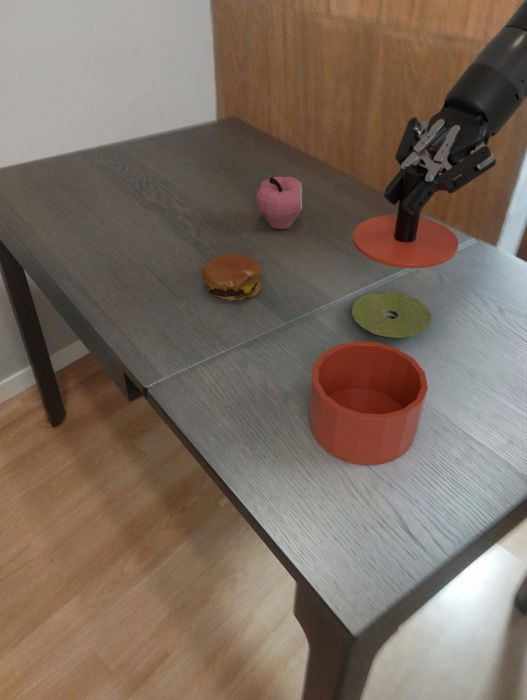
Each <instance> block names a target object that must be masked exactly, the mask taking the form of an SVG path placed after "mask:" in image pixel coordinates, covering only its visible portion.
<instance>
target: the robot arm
mask: <svg viewBox="0 0 527 700" xmlns="http://www.w3.org/2000/svg"><path fill="white" fill-rule="evenodd" d="M526 99H527V0H523V1H522V2H521V3H520V5H519V6H518V7H517V8H516V10H515V12H513V14H512V15H511V17H509V18H508V20H507V22H506V23H505V24H504V25H503V26H502V28H501V29H500V30H499V31H498V32H497V33H496V35H495V36H494V37H493V38H492V39H491V40H490V41H488V43H487V44H486V45H485V46H483V48H482V49H481V51H480V52H479V53H478V54H477V56H476V57H475V58H474V59H473V61H472V62H471V63H470V64H469V66H468V67H467V68H466V69H465V71H464V72H463V73H462V75H461V76H460V77H459V78H458V80H457V81H456V82H455V83H454V85H453V86H452V87H451V88H450V90H449V91H448V92H447V93H446V95H445V97H444V102H443V106H442V107H441V109H440V110H439V111H437V113H435V114H434V115H432V116H431V117H430V118H429V119H428V120H422V121H419V120H418V118H417V117H415V116H414V117H411V118H410V119H409V120H408V122H407V125H406V126H405V130H404V132H403V135H402V136H401V137H402V138H401V141H400V143H399V145H398V148H397V151H396V153H395V158H394V159H395V160H396V162H397V163H398V164H399V167H400V169H399V171H398V172H397V173H396V175H395V176H394V177H393V179H392V180H391V181H390V182H389V184H387V186H386V188H385V190H384V193H383V197H384V198H385V199H386V200H387V201H388V203H390V204H392V205H396V204H397V203H399V200H400V193H401V187H402V180H403V174H404V169H405V167H407V166H411V165H418V166H423V167H425V168H427V169H428V168H429V169H428V173H427V175H426V176H425V181H423V180H421V181H420V182H419V183H418V184H417V186H416V187H415V188H414V189H413V191H412V192H411V193H410V194H409V195H408V197H407V198H406V199H405V200H404V202H403V203H402V208H403V209H404V210H405V211H406V212H407V213H408V214H410V215H414V214H415V213H416V212H419V211H420V210H421V211H422V209H423V208H424V206H426V204H427V203H428V202H429V201H430V199H431V198H433V196H434V195H435V193H439V192H441V191H445V192H447V193H448V194H453V193H455V192H457V191H459V190H460V189H461V188H463V187H465V186H466V185H467V184H469V183H470V182H472V181H474V180H476V179H477V178H478V177H480V176H482V174H484V173H486V172H487V171H489V170H491V169H492V168H494V166H496V164H497V159H496V158H495V155H494V153H493V152H492V150H491V149H490V148H489V146H488V144H489V141H490V139H491V138H493V137H495V136H497V135H498V133H499V132H500V131H501V130H502V129H503V128H504V127H505V125H506V124H507V123H508V121H509V120H510V119H511V118H512V117H513V115H514V114H515V113H516V112H517V111H518V110H519V108H520V107H521V106H522V105H523V104H524V103H525V101H526ZM427 153H428V154H429V155H428V154H427ZM418 161H419V162H418Z"/></svg>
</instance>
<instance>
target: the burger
mask: <svg viewBox="0 0 527 700" xmlns="http://www.w3.org/2000/svg"><path fill="white" fill-rule="evenodd" d="M201 270H202V271H201V278H202V280H203V284H204V283H205V286H206V289H207V291H208V292H209V294H211V295H213V296H215V297H217V298H219V299H223V300H227V301H231V302H233V301H243V300H244V299H245V298H247V297H248V298H255V297H257V296H258V295H259V294H260V292H261V290H262V289H263V288H262V286H263V282H262V268H261V265H260V264H259V263H258V262H257V260H255V259H254V258H252V257H250V256H248V255H246V254H241V253H226V254H222V255H218V256H214V257H213V258H211V259H210V260H208V261H207V262H206V263H205V264H204V265H203V268H202V269H201Z"/></svg>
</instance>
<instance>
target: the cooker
mask: <svg viewBox="0 0 527 700" xmlns="http://www.w3.org/2000/svg"><path fill="white" fill-rule="evenodd" d="M310 386H311V387H310V388H311V389H310V401H309V402H310V404H309V405H310V406H309V428H310V432H311V433H312V436H313V437H314V439H315V441H316V442H317V443H318V444H319V446H320V447H321V448H322V449H323V450H325V451H326V452H327V453H329V454H330V455H331V456H332V457H335V458H338V459H340V460H341V461H344V462H347V463H351V464H355V465H362V466H375V465H382V464H383V465H384V464H387V463H391V462H393V461H395V460H397V459H399V458H400V457H402V456H404V455H405V454H406V453H407V451H409V449H410V448H411V447H412V445H413V444H414V441H415V439H416V435H417V432H418V431H419V430H418V429H419V426H420V422H421V418H422V413H423V410H424V406H425V401H426V398H427V395H428V394H427V393H428V391H429V384H428V381H427V376H426V372H425V370H424V369H423V368H422V367H421V365H420V364H419V363H418V362H417V361H416V359H415V358H413V357H412V356H410V355H409V354H407V353H405V352H404V351H402V350H400V349H399V348H397V347H394V346H391V345H387V344H384V343H380V342H377V341H361V340H354V341H350V342H345V343H340V344H336V345H334V346H332V347H331V348H329V349H327V350H326V351H323V352H322V353H321V354H319V357H318V358H317V360H316V361H315V363H314V364H313V366H312V371H311V385H310Z"/></svg>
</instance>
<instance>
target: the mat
mask: <svg viewBox="0 0 527 700" xmlns="http://www.w3.org/2000/svg"><path fill="white" fill-rule="evenodd" d="M351 316H352V318H353V320H354V321H355V322H356V323H357V324H358V325H359V326H360V327H361V328H362V329H364V330H366V331H367V332H369V333H371V334H374V335H377V336H380V337H385V338H394V339H406V338H411V337H415V336H418V335H420V334H422V333H423V332H425V331H426V330H427V329H428V328H429V326H430V325H431V322H432V315H431V312H430V309H428V308H427V306H426V305H425V304H423V302H421V301H420V300H418V299H416V298H414V297H412V296H409V295H407V294H402V293H398V292H393V291H379V292H372V293H368V294H364V295H363V296H360V297H359V298H357V300H356V301H354V303H353V304H352V308H351Z"/></svg>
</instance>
